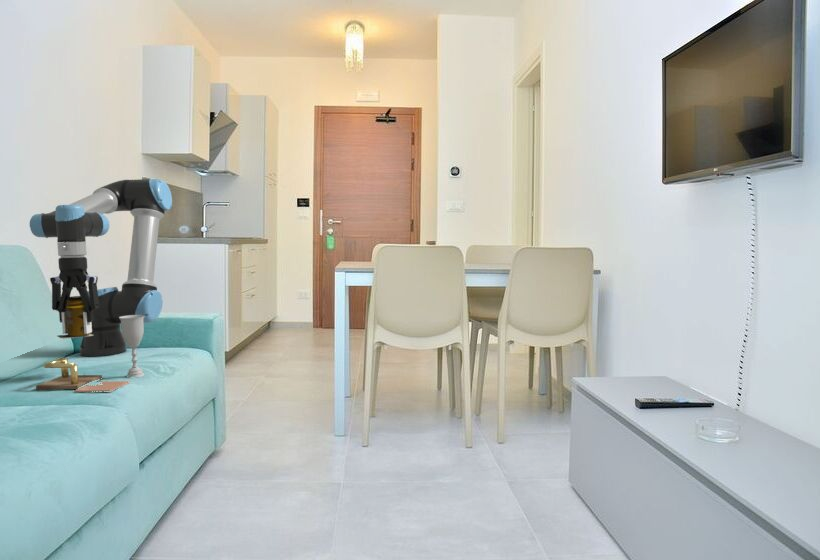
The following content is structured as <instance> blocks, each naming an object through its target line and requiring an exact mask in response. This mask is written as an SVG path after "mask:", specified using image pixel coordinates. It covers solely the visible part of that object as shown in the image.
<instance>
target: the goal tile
mask: <svg viewBox="0 0 820 560" xmlns="http://www.w3.org/2000/svg"><path fill="white" fill-rule="evenodd" d="M98 382H102V384H103V385H98V384H97V385H96V386H95V385H94V386H93V385H92V386H91V385H90V386H89V385H86V386H84V387H81V388H79V389H77V390H73V391H74V393H75V392H92V391H93V392H94V391H95V392H96V391H98V392H99V391H102V392H104V391H112V390H114V389H116V388H118V387H121V386H123V385H125V386H127V385H129V384H130V380H129V381H128V380H127V381H125V380H124V381H121V380H120V381H119V380H118V381H117V380H116V381H115V380H112V381H111V380H110V381H108V380H107V381H106V380H105V381H104V380H99V381H98ZM100 384H101V383H100ZM126 384H127V385H126ZM123 387H124V386H123ZM121 388H122V387H121ZM112 392H113V391H112Z"/></svg>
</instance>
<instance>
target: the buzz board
mask: <svg viewBox="0 0 820 560" xmlns="http://www.w3.org/2000/svg"><path fill="white" fill-rule="evenodd" d="M101 378H102V379H103V375H102V374H100V375H99V374H98V375H97V374H96V375H94V374H80V375H79V374H78V384H74V385H72V384H71V374H69V377H66V378H62V375H61V376H58V377H55V378H53V379H50V380H47V381H44V382H42V383H40V384H37V385H35V390H36V391H50V390H49V389H78V388H79V387H81V386H83V385H85V384H87V383H89V382H92V381H95V380H98V379H101Z"/></svg>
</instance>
